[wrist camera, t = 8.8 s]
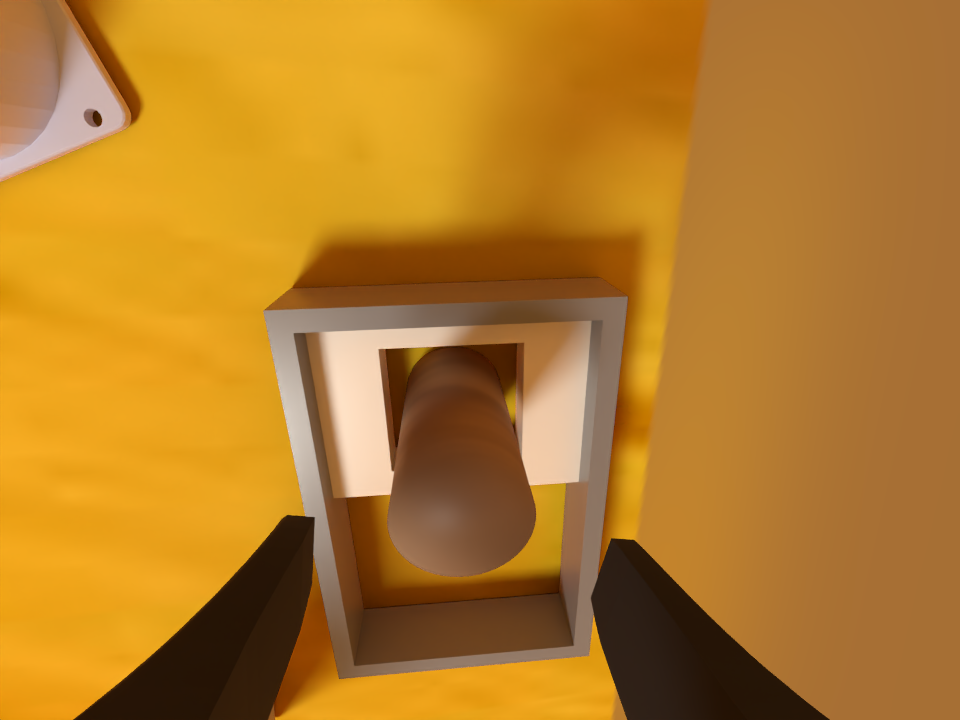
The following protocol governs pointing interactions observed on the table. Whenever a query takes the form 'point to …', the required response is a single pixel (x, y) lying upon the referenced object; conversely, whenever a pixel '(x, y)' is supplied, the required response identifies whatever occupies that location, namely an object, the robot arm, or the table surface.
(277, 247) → the table surface
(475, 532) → the walnut peg
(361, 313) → the grey tray
